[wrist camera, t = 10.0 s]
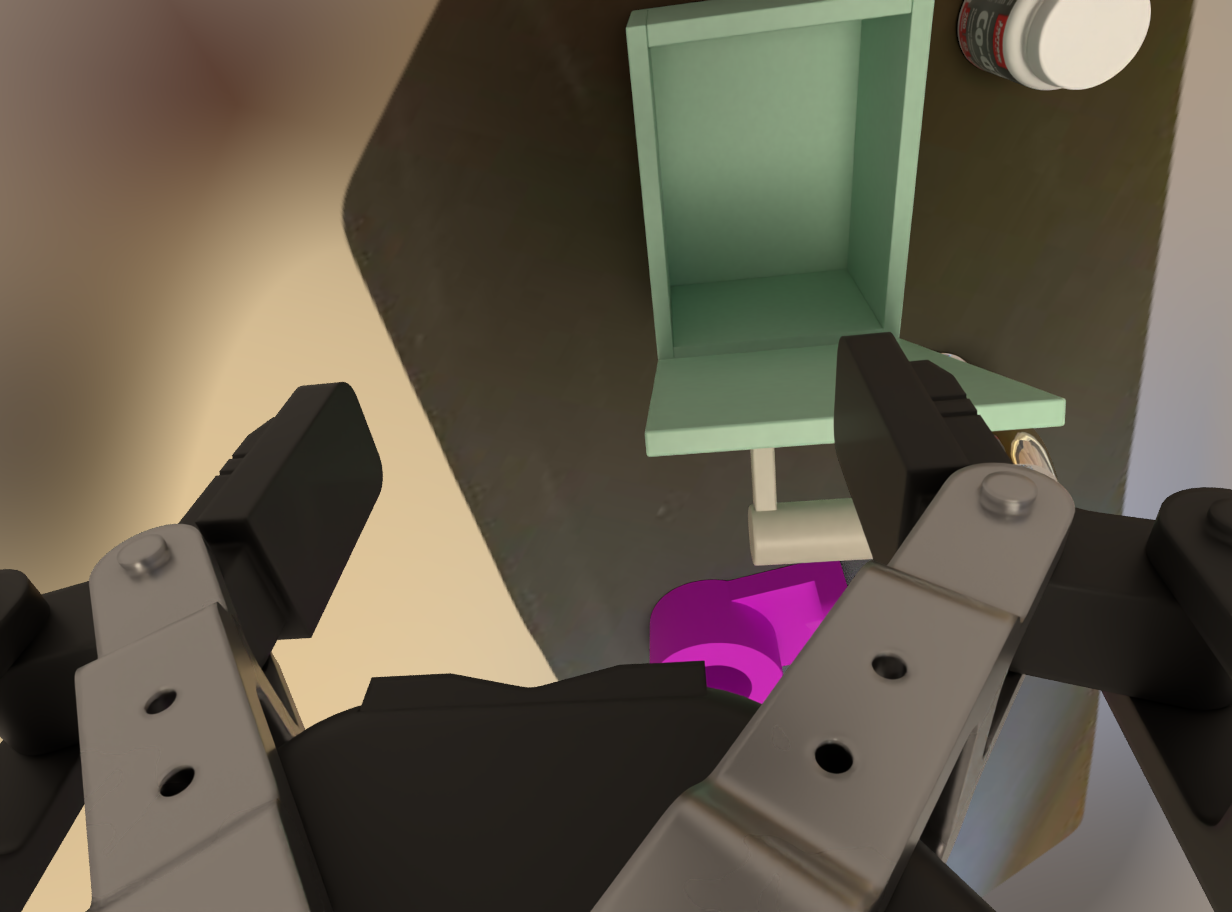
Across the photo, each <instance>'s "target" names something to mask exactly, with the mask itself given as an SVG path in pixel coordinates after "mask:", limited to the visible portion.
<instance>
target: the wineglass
mask: <svg viewBox="0 0 1232 912" xmlns="http://www.w3.org/2000/svg"><path fill="white" fill-rule="evenodd" d="M941 354H944V355H946V356H949V357H952V358H955V359H957V360H960V361H963V362H966V361H965V360H964V359H962V358H961V357H959V356H957V355H955V354H952V353H944V352H942V353H941ZM992 433H993V434H994V436H995V437H996V439H997V440H998V442H999V443H1000V445H1001V446H1002V448H1003V449H1004V451H1005V452H1006V454H1007V455H1008V457H1009V458H1010V460H1011V461H1012V463H1013V464H1014V465H1018V466H1023V467H1027V468H1030V469H1033V470H1036V471H1038V472H1040V473H1043V474H1045V475H1047V476H1049V477H1050V478H1052V479H1054V480H1055V481H1057V482H1058V479H1057V474H1056V471H1055V468H1054V465H1053V462H1052V459H1051V457H1050V455H1049V452H1048V450H1047V448H1046V446H1045V444H1044V442H1043V441H1042V439H1041V438H1040V436H1039V435H1038V434H1037V432H1036V431H1035V430H1034V428H1029V429H1016V430H1002V431H992Z"/></svg>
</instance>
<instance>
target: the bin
mask: <svg viewBox="0 0 1232 912" xmlns="http://www.w3.org/2000/svg"><path fill="white" fill-rule="evenodd" d="M933 10H934V0H708V1H701V2H694V3H686V4H679V5H672V6H664V7H657V8H650V9H643V10H635V11H632V12H631V15H630V18H629V21H628V24H627V27H626V37H627V47H628V57H629V67H630V78H631V88H632V98H633V108H634V118H635V129H636V139H637V149H638V159H639V169H640V180H641V190H642V200H643V210H644V221H645V231H646V241H647V251H648V261H649V272H650V282H651V292H652V302H653V312H654V323H655V333H656V343H657V353H658V360H663V359H675V358H686V357H697V356H709V355H720V354H731V353H743V352H754V351H765V350H777V349H788V348H799V347H811V346H822V345H834V344H838V343H839V339H840V337H841V336H849V335H859V334H870V333H880V332H891V333H892V334H893V335H894V337H895V338H896V339H899V335H900V325H901V315H902V306H903V296H904V287H905V277H906V268H907V258H908V249H909V239H910V229H911V220H912V210H913V201H914V191H915V182H916V172H917V163H918V153H919V143H920V134H921V124H922V115H923V105H924V96H925V86H926V77H927V67H928V58H929V48H930V38H931V29H932V19H933Z"/></svg>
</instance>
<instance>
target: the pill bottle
mask: <svg viewBox="0 0 1232 912" xmlns="http://www.w3.org/2000/svg"><path fill="white" fill-rule="evenodd" d="M1150 15H1151V8H1150V0H965V1H964V3H963V5H962V8H961V11H960V14H959V19H958V39H959V43H960V47H961V49H962V52H963V53H964V55H965V57H966V58H967V59H968V60H969V61H970V62H971V63H972V64H973V65H975V66H976V67H978V68H980V69H982V70H984V71H987V72H990V73H993V74H996V75H998V76H1001V77H1003V78H1006V79H1009V80H1011V81H1014V82H1016V83H1019V84H1021V85H1024V86H1026V87H1030V88H1033V89H1038V90H1056V89H1060V88H1065V89H1071V90H1080V89H1087V88H1090V87H1094V86H1097V85H1099V84H1101V83H1103V82H1105V81H1107V80H1109V79H1110V78H1112V77H1113V76H1115V75H1116V74H1117V73H1119V72H1120V71H1121V70H1122V69H1123V68H1124V67H1125V66H1126V65H1127V64H1128V63H1129V62H1130V61H1131V60H1132V58H1133V57H1134V56H1135V54H1136V53H1137V51H1138V50H1139V48H1140V46H1141V45H1142V43H1143V41H1144V38H1145V36H1146V34H1147V30H1148V27H1149V23H1150Z"/></svg>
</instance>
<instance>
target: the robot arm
mask: <svg viewBox="0 0 1232 912" xmlns="http://www.w3.org/2000/svg"><path fill="white" fill-rule="evenodd" d="M966 395H967V394H966V393H965V391H964V390H963V389H962V387H961V386H960V384H959V383H958V381H957V380H956V378H955V377H954V375H952V374H951V373H949V372H947V371H946V370H944V369H943V368H941V367H939V366H938V365H936V364H934V363H933V362H931V361H929V360H918V361H909V360H908V359H907V357H906V355H905V354H904V352H903V350H902V349H901V347H900V345H899V343H898V342H897V340H896V338H895V337H894V335H893V334H892V333H891V332H880V333H870V334H859V335H849V336H841V337H840V339H839V343H838V349H837V366H836V385H835V403H834V441H835V448H836V453H837V457H838V461H839V463H840V466H841V469H842V472H843V475H844V478H845V481H846V483H847V486H848V489H849V492H850V495H851V498H852V500H853V503H854V506H855V509H856V512H857V515H858V517H859V520H860V523H861V526H862V529H863V532H864V534H865V537H866V540H867V543H868V546H869V549H870V552H871V554H872V557H873V560H874V561H873V560H871V561H869V562H867V563H866V564H865V565H864V566H863V567H862V568H861V569H860V570H859V571H858V573H857V574H856V575H855V577H854V578H853V580H852V581H851V582H850V584H849V585H848V586H847V588H846V589H845V591H844V592H843V593H842V595H841V596H840V597H839V599H838V600H837V602H836V603H835V604H834V606H833V607H832V608H831V610H830V611H829V613H828V614H827V615H826V617H825V618H824V619H823V621H822V622H821V624H820V625H819V626H818V628H817V629H816V630H815V632H814V633H813V635H812V636H811V637H810V639H809V640H808V641H807V643H806V644H805V646H804V647H803V648H802V650H801V651H800V652H799V654H798V655H797V657H796V658H795V659H794V661H793V662H792V663H791V665H790V666H789V668H788V669H787V670H786V672H785V673H784V674H783V676H782V677H781V679H780V680H779V681H778V683H777V684H776V685H775V687H774V688H773V690H772V691H771V692H770V694H769V695H768V696H767V698H766V699H765V701H764V702H763V703H762V704H761V703H759V702H756V701H754V700H752V699H749V698H747V697H745V696H742V695H738V694H735V693H732V692H728V691H725V690H721V689H716V688H710V687H707V683H706V671H705V661H686V662H666V663H646V664H627V665H617V666H614V667H610V668H606V669H603V670H599V671H595V672H591V673H588V674H584V675H580V676H576V677H573V678H569V679H565V680H561V681H558V682H554V683H550V684H547V685H543V686H538V687H531V688H530V687H529V688H527V687H520V686H514V685H509V684H504V683H499V682H494V681H488V680H483V679H477V678H472V677H466V676H462V675H456V674H451V673H450V674H430V675H413V676H412V675H410V676H390V677H372V678H371V681H370V684H369V687H368V689H367V692H366V694H365V697H364V700H363V703H362V705H361V706H357V707H354V708H352V709H348V710H346V711H343V712H340V713H338V714H335V715H333V716H331V717H329V718H327V719H325V720H323V721H320V722H318V723H316V724H314V725H313V726H311V727H309V728H308V729H306V730H305V728H304V726H303V723H302V721H301V718H300V716H299V713H298V711H297V708H296V706H295V703H294V701H293V698H292V696H291V694H290V691H289V688H288V686H287V683H286V681H285V678H284V676H283V673H282V671H281V668H280V666H279V664H278V662H277V661H276V659H275V657H274V656H273V654H272V652H271V651H272V649H273V647H274V645H275V643H276V641H277V640H281V639H299V638H311V637H312V635H313V633H314V631H315V628H316V627H317V624H318V622H319V620H320V618H321V616H322V614H323V612H324V610H325V608H326V605H327V604H328V601H329V599H330V597H331V595H332V593H333V591H334V589H335V587H336V585H337V583H338V580H339V578H340V576H341V574H342V572H343V570H344V568H345V566H346V564H347V562H348V560H349V557H350V555H351V553H352V551H353V549H354V547H355V545H356V543H357V540H358V538H359V536H360V534H361V532H362V530H363V528H364V526H365V524H366V522H367V519H368V518H369V515H370V513H371V511H372V509H373V507H374V505H375V503H376V501H377V499H378V497H379V494H380V492H381V488H382V481H383V472H382V464H381V460H380V456H379V454H378V451H377V448H376V446H375V443H374V441H373V438H372V435H371V433H370V430H369V427H368V425H367V422H366V420H365V417H364V414H363V412H362V409H361V407H360V404H359V401H358V399H357V396H356V394H355V392H354V390H353V389H352V387H351V386H350V385H349V384H348V383H346V382H338V383H327V384H317V385H307V386H300V387H298V388H297V389H296V390H295V391H294V393H293V394H292V395H291V397H290V398H289V399H288V401H287V402H286V403H285V405H284V406H283V407H282V408H281V410H280V411H279V412H278V414H277V415H276V416H275V417H273V418H272V419H270V420H269V421H267V422H266V423H265V424H263V425H262V426H260V427H259V428H258V429H256V430H255V431H253V432H252V433H251V434H249V435H248V436H247V437H246V438H245V440H244V441H243V442H242V444H241V445H240V446H239V447H238V449H237V450H236V451H235V452H234V454H233V455H232V456H233V459H229V460H228V461H227V463H226V464H225V465H224V466H223V468H222V469H221V470H220V475H219V476H215V478H214V479H213V480H212V482H211V483H210V484H209V485H208V487H207V488H206V489H205V490H204V492H203V493H202V494H201V495H200V497H199V498H198V499H197V500H196V502H195V503H194V504H193V506H192V507H191V508H190V509H189V511H188V512H187V513H186V515H185V516H184V517H183V518H182V519H181V521H180V522H179V523H178V524H170V525H164V526H159V527H156V528H152V529H149V530H147V531H144V532H141V533H139V534H137V535H135V536H133V537H131V538H129V539H127V540H126V541H124V542H122V543H121V544H119V545H118V546H116V547H115V548H113V549H112V550H111V551H109V552H108V553H107V554H106V555H105V556H104V557H103V558H102V559H101V560H100V561H99V562H98V564H96V566H95V567H94V569H93V571H92V572H91V575H90V578H89V581H87V582H84V583H81V584H77V585H73V586H70V587H66V588H63V589H59V590H56V591H52V592H49V593H45V594H42V595H41V594H40V592H39V591H38V590H37V589H36V587H35V586H34V585H33V584H32V583H31V581H30V580H29V579H28V578H27V576H26V575H25V574H23V573H22V572H21V571H18V570H12V569H4V570H0V737H1V738H2V739H3V741H2V742H1V743H0V912H21V911H22V910H23V908H24V906H25V904H26V902H27V901H28V899H29V897H30V896H31V894H32V892H33V891H34V889H35V887H36V886H37V884H38V882H39V881H40V879H41V877H42V875H43V874H44V872H45V870H46V868H47V867H48V865H49V863H50V862H51V860H52V858H53V857H54V855H55V853H56V852H57V850H58V848H59V847H60V845H61V843H62V841H63V840H64V838H65V836H66V835H67V833H68V831H69V830H70V828H71V826H72V824H73V823H74V821H75V819H76V817H77V816H78V814H79V812H80V811H81V809H82V807H83V806H84V804H85V814H86V827H87V839H88V852H89V863H90V876H91V889H92V901H91V906H90V908H89V909H88V910H87V911H86V912H996V911H995V910H994V909H993V908H992V907H991V906H990V905H989V904H987V903H986V902H985V901H984V900H983V899H982V898H981V897H980V896H979V895H978V894H977V893H976V892H975V891H974V890H973V889H972V888H971V887H969V886H968V885H967V884H966V883H965V882H964V881H963V880H962V879H961V878H960V877H959V876H958V875H957V874H956V873H955V872H954V871H953V870H951V869H950V868H949V867H948V866H947V865H946V862H947V859H948V857H949V855H950V853H951V850H952V848H953V845H954V843H955V841H956V838H957V836H958V833H959V831H960V828H961V826H962V823H963V820H964V818H965V815H966V812H967V809H968V807H969V804H970V801H971V798H972V795H973V793H974V790H975V788H976V785H977V783H978V780H979V778H980V776H981V773H982V771H983V769H984V767H985V764H986V762H987V760H988V758H989V755H990V753H991V751H992V749H993V746H994V744H995V742H996V740H997V737H998V735H999V733H1000V731H1001V729H1002V726H1003V724H1004V722H1005V720H1006V717H1007V715H1008V713H1009V711H1010V708H1011V706H1012V704H1013V702H1014V699H1015V697H1016V695H1017V693H1018V691H1019V688H1020V686H1021V684H1022V682H1023V679H1024V677H1025V675H1030V676H1035V677H1039V678H1044V679H1049V680H1054V681H1059V682H1063V683H1068V684H1073V685H1078V686H1083V687H1087V688H1092V689H1097V690H1101V691H1102V693H1103V695H1104V697H1105V699H1106V701H1107V703H1108V705H1109V707H1110V709H1111V711H1112V712H1113V714H1114V716H1115V718H1116V720H1117V722H1118V724H1119V726H1120V728H1121V730H1122V732H1123V734H1124V736H1125V738H1126V740H1127V742H1128V744H1129V746H1130V748H1131V750H1132V752H1133V754H1134V756H1135V757H1136V759H1137V761H1138V763H1139V765H1140V767H1141V769H1142V771H1143V773H1144V775H1145V777H1146V779H1147V781H1148V783H1149V785H1150V787H1151V789H1152V791H1153V793H1154V795H1155V797H1156V798H1157V801H1158V802H1159V804H1160V806H1161V808H1162V810H1163V812H1164V814H1165V816H1166V818H1167V820H1168V822H1169V824H1170V826H1171V828H1172V830H1173V832H1174V834H1175V836H1176V838H1177V839H1178V842H1179V843H1180V846H1181V847H1182V849H1183V851H1184V853H1185V855H1186V857H1187V859H1188V861H1189V863H1190V865H1191V867H1192V869H1193V871H1194V873H1195V875H1196V877H1197V879H1198V881H1199V883H1200V884H1201V886H1202V889H1203V890H1204V892H1205V894H1206V896H1207V898H1208V900H1209V902H1210V904H1211V906H1212V908H1213V910H1214V912H1232V490H1231V489H1224V488H1206V487H1202V488H1191V489H1186V490H1182V491H1179V492H1176V493H1174V494H1172V495H1170V496H1169V497H1167V498H1166V499H1165V501H1164V502H1163V503H1162V505H1161V508H1160V510H1159V512H1158V515H1157V518H1156V520H1151V519H1143V518H1136V517H1128V516H1121V515H1113V514H1106V513H1099V512H1093V511H1087V510H1083V509H1079V508H1075V504H1074V502H1073V499H1072V497H1071V496H1070V494H1069V493H1068V491H1067V490H1066V489H1065V488H1064V487H1063V486H1062V485H1061V484H1059V483H1058V482H1057V481H1055V480H1054V479H1052V478H1050V477H1049V476H1047V475H1045V474H1043V473H1040V472H1038V471H1036V470H1033V469H1030V468H1027V467H1023V466H1018V465H1014V464H1013V463H1012V461H1011V460H1010V458H1009V457H1008V455H1007V454H1006V452H1005V451H1004V449H1003V448H1002V446H1001V445H1000V443H999V442H998V440H997V439H996V437H995V436H994V434H993V433H992V431H991V430H990V429H989V427H988V426H987V424H986V423H985V421H984V420H983V418H982V417H981V415H978V414H977V409H976V408H975V406H974V405H973V403H972V402H971V400H970V399H969V398H968V399H967V397H966Z"/></svg>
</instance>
